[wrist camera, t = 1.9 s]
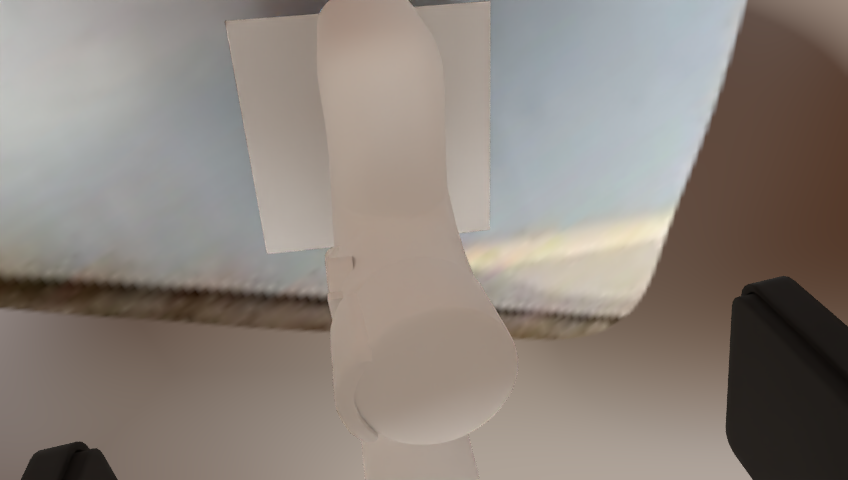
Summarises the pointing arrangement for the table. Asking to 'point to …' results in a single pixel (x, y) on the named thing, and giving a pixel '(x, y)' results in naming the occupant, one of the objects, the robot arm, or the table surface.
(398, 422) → the figurine
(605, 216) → the table surface
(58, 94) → the table surface
